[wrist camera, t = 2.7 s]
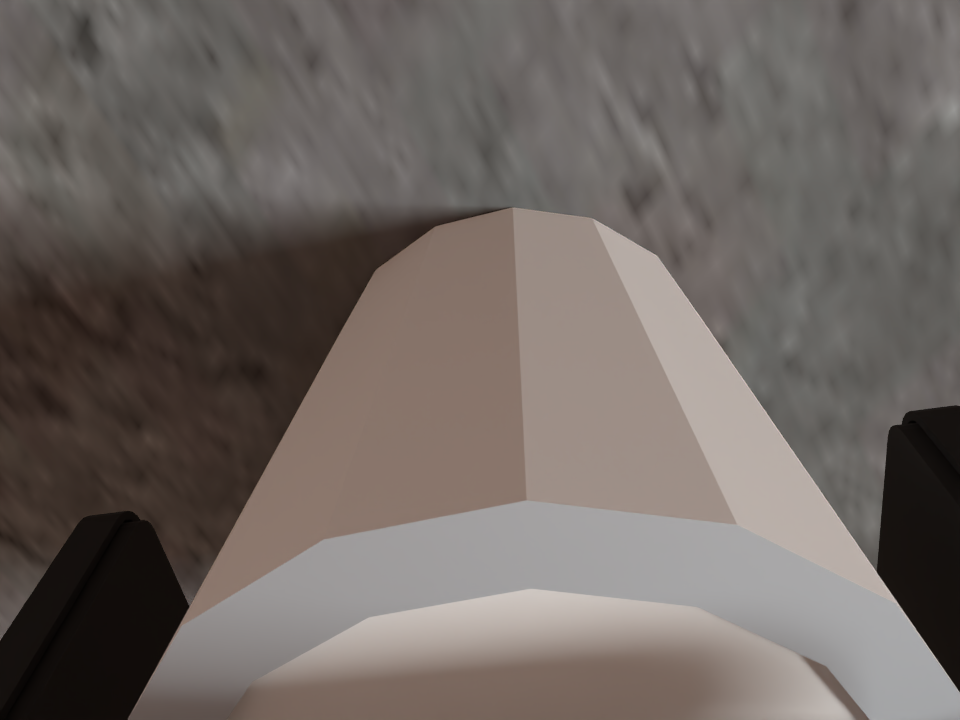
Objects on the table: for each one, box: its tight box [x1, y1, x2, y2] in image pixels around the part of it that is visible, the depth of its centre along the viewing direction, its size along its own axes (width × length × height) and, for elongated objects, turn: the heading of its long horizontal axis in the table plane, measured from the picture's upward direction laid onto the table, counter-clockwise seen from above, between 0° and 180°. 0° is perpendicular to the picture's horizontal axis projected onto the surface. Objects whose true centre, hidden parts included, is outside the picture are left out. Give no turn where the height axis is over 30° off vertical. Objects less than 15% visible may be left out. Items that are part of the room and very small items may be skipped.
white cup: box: [128, 207, 960, 720], centre depth 10 cm, size 7×7×7 cm
